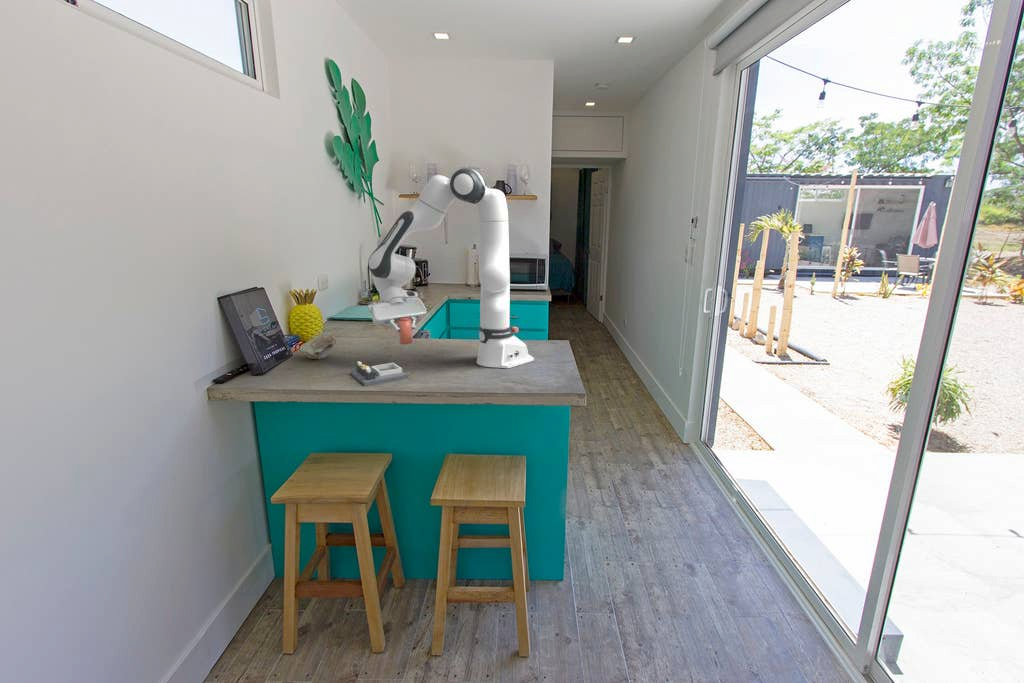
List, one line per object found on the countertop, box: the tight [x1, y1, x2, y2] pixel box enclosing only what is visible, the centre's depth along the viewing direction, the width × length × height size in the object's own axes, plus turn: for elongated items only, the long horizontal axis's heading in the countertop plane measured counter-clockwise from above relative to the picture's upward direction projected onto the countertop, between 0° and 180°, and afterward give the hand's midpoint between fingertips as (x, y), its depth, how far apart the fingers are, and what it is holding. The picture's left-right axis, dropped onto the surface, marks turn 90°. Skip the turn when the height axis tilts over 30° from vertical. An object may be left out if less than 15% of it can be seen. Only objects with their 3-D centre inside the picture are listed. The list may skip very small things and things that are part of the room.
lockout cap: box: [397, 318, 414, 345], centre depth 183 cm, size 5×5×9 cm
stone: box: [299, 331, 338, 360], centre depth 196 cm, size 11×14×10 cm
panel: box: [350, 361, 408, 387], centre depth 176 cm, size 15×15×5 cm
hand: (406, 329), depth 183 cm, fingers closed on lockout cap, 5 cm apart
